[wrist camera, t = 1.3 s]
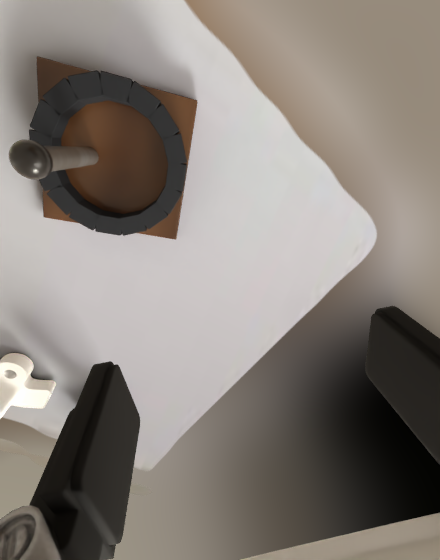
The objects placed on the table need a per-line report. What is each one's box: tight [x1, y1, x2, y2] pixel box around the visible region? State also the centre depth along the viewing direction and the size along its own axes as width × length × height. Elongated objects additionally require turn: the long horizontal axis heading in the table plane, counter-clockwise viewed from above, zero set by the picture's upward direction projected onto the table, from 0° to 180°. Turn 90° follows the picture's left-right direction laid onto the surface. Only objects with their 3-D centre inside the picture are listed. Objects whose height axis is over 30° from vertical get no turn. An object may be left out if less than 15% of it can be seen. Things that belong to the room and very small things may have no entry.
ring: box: [29, 71, 187, 235], centre depth 27 cm, size 14×14×2 cm
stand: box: [9, 57, 197, 239], centre depth 22 cm, size 14×14×14 cm
